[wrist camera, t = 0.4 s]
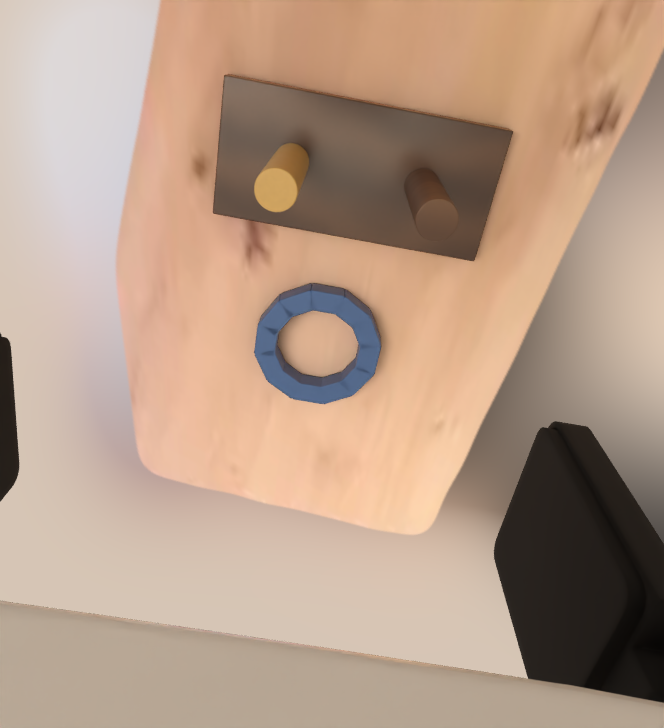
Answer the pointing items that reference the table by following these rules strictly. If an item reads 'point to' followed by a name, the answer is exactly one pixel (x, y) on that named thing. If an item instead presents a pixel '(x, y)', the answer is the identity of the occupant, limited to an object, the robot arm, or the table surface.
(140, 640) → the robot arm
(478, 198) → the rack
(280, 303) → the ring
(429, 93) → the table surface
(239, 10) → the table surface
